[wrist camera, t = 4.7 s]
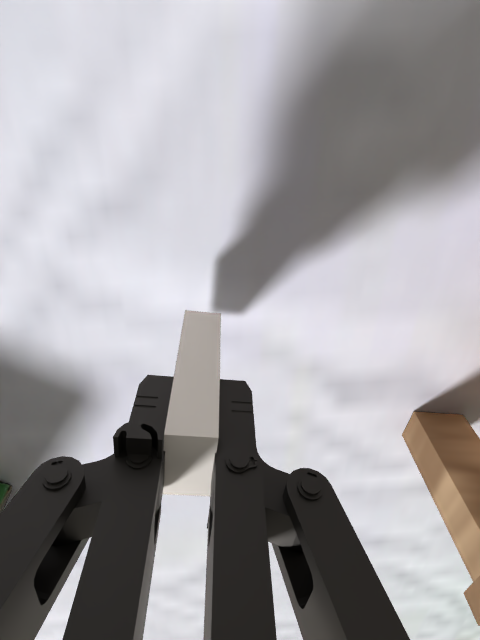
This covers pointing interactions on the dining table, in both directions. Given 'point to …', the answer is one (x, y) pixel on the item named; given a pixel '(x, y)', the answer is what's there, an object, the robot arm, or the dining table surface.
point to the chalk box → (4, 494)
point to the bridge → (452, 483)
